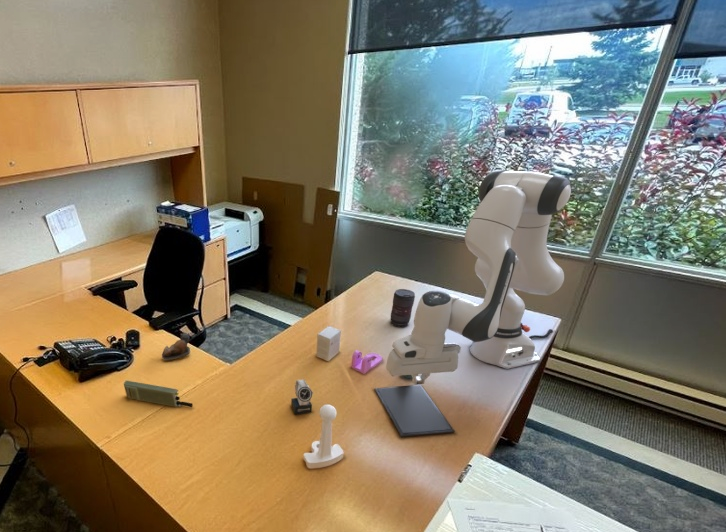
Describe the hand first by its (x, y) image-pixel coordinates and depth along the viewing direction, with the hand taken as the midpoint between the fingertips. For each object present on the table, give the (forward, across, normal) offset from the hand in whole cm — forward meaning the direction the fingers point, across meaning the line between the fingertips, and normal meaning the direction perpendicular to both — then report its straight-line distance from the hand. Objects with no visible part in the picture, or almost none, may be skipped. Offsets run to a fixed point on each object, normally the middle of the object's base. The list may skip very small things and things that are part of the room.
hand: (417, 383), depth 127 cm
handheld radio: (+12, +82, -14) cm, 84 cm away
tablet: (+12, 0, -1) cm, 12 cm away
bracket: (+12, +5, -26) cm, 29 cm away
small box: (+12, +18, -35) cm, 41 cm away
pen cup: (+12, -6, -18) cm, 22 cm away
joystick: (+12, +33, +15) cm, 38 cm away
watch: (+12, +34, -5) cm, 37 cm away
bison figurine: (+12, +78, -41) cm, 89 cm away
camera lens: (+12, -18, -53) cm, 57 cm away
